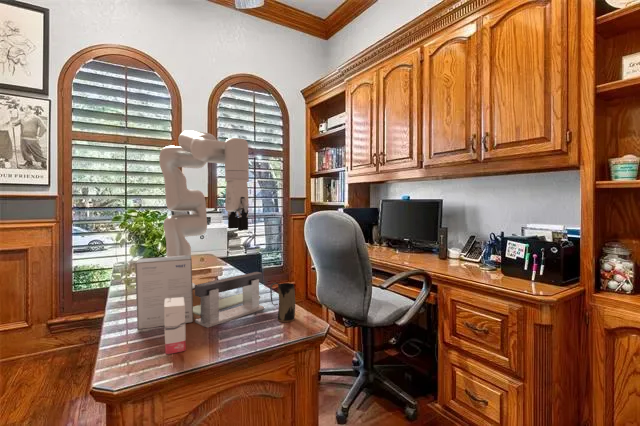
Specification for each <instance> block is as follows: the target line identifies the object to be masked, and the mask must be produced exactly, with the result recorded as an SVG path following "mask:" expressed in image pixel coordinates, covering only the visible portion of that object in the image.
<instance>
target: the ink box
mask: <svg viewBox="0 0 640 426" xmlns="http://www.w3.org/2000/svg"><path fill="white" fill-rule="evenodd" d="M163 327H164V348H165V349H164V350H165V351H164V352H165V355H170V354H176V353H182V352H185V351H187V348H186V341H187V339H186V337H187V336H186V334H187V333H186V323H185V303H184V297H177V298H166V299H165V302H164V326H163Z"/></svg>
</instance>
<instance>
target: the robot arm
mask: <svg viewBox="0 0 640 426" xmlns="http://www.w3.org/2000/svg"><path fill="white" fill-rule="evenodd" d="M177 139H178V145H179V146H178V145H176V146H175V145H168V146H165V147H163V148H161V150H160V153H159V157H158V159H159V167H160V170H161V173H162V175H163V178H164V190H165V192H164V193H165V205H166V207H167V209H168V210H169V211H171V212H191V214H188V213H187V214H186V213H185V214H184V213H183V214H172V215H168V216H167V217H166V218H165V219H164V221H163V231H164V237H165V243H166V244H165V246H166V247H165V248H166V257H172V256H187V255H191V256H192V248H191V245H190V243H189V242H188V240H187V237H197V236H202V235H204V234H205V233H206V232H207V227H208V217H207V203H206V198H205V195H204V193H203V192H202V191H201V190H199V189H188V186H187V177H186V176H185V174H184V173H183V172H182V170H181V169H180V168H187V169H201V168H203V167H204V166H205V165H206V164H207V163H211V164H212V163H213V164H221V165H224V179H225V180H224V181H225V182H226V185H225V203H224V209H225V211H226V212H227V228H228V229H237V230H238V231H248V230H249V206H250V203H249V189H248V187H249V186H248V183H249V182H250V176H249V174H250V173H249V172H250V171H249V168H250V167H249V143H248V141H247V140H246V139H244V138H238V137H237V138H236V137H232V138H231V137H230V138H228V139H226V140H225V141H222V140H217V138H216V137H215V135H213V134H212V133H209V132H204V131H203V132H202V131H197V130H183V132H181V133H180V134H179V136H178V138H177ZM237 215H238V216H237ZM195 285H196V283H194V282H192V290H195Z"/></svg>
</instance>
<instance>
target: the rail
mask: <svg viewBox="0 0 640 426" xmlns="http://www.w3.org/2000/svg"><path fill="white" fill-rule="evenodd" d="M256 279H259V284H260V283H263V272H260V271H253V272H249V273H244V274H241V275H235V276H232V277H227V278H222V279H218V280H212V281H207V282H203V283H198V284H195V288H194V296H195V297H198V298H201V297H204V296H208V295H209V290H213V289H219V293H223V292H228V291H231V290H235V289H239V288H243V287H244V286H248V285H251V280H256Z"/></svg>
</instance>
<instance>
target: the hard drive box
mask: <svg viewBox="0 0 640 426" xmlns="http://www.w3.org/2000/svg"><path fill="white" fill-rule="evenodd" d="M192 261H193V260H192V254H191V255H187V256H172V257H167V256H159V257H148V258H145V257H144V258H139V259H138V260H137V261H135V263H134V267H135V291H136V292H135V294H136V295H135V297H136V319H137V320H136V323H137V324H136V327H137V330H141V329H142V330H143V329H151V328H157V327H165V326H164V302H165V299H166V298H177V297H184V303H185V324H187V323H192V322H194V313H193V307H194V305H193V304H194V302H193V301H194V300H193V298H194V297H193V289H192V283H193V267H192Z"/></svg>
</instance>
